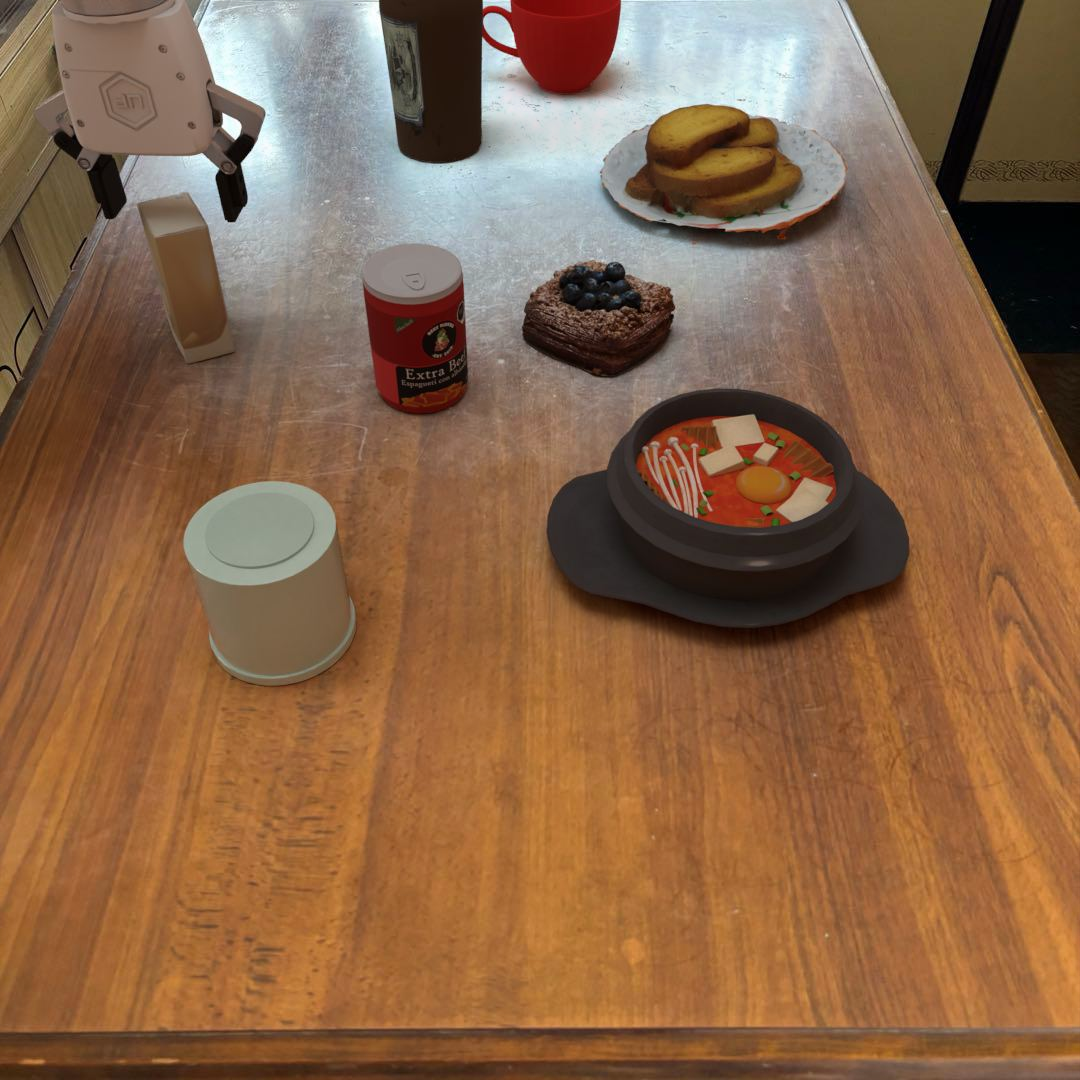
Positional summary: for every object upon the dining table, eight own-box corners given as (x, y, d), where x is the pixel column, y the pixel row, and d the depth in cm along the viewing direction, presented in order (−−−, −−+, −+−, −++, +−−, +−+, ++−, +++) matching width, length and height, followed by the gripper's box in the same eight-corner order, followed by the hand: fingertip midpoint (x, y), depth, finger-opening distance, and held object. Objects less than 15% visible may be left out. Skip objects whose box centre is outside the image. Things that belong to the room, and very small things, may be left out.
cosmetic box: (169, 329, 97) (133, 200, 89) (217, 316, 99) (187, 188, 90) (187, 367, 93) (152, 236, 84) (238, 353, 94) (208, 223, 86)
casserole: (555, 655, 71) (556, 563, 65) (538, 467, 84) (539, 376, 78) (938, 639, 72) (974, 547, 66) (862, 455, 85) (886, 365, 79)
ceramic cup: (483, 61, 141) (480, -23, 134) (616, 63, 140) (620, -21, 133) (475, 103, 131) (471, 16, 124) (617, 106, 131) (622, 18, 124)
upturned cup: (192, 681, 69) (157, 580, 63) (233, 573, 76) (205, 472, 69) (340, 690, 69) (320, 589, 62) (368, 581, 75) (352, 480, 69)
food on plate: (840, 260, 106) (854, 196, 101) (584, 237, 109) (585, 174, 104) (839, 144, 123) (850, 85, 119) (618, 127, 127) (621, 69, 122)
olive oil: (455, 116, 129) (442, -127, 111) (505, 150, 123) (500, -103, 105) (375, 139, 124) (349, -111, 107) (423, 175, 118) (403, -84, 101)
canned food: (404, 427, 87) (391, 307, 80) (359, 377, 92) (342, 260, 84) (487, 395, 90) (482, 277, 83) (438, 348, 95) (430, 232, 87)
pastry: (617, 387, 91) (620, 327, 87) (503, 337, 96) (501, 278, 92) (687, 328, 97) (694, 269, 93) (577, 284, 103) (579, 226, 98)
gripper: (-32, 1, 73) (52, 233, 85) (222, 4, 72) (271, 239, 84) (14, -37, 79) (87, 187, 91) (252, -35, 78) (294, 192, 90)
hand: (175, 212), depth 88 cm, fingers open, 9 cm apart
